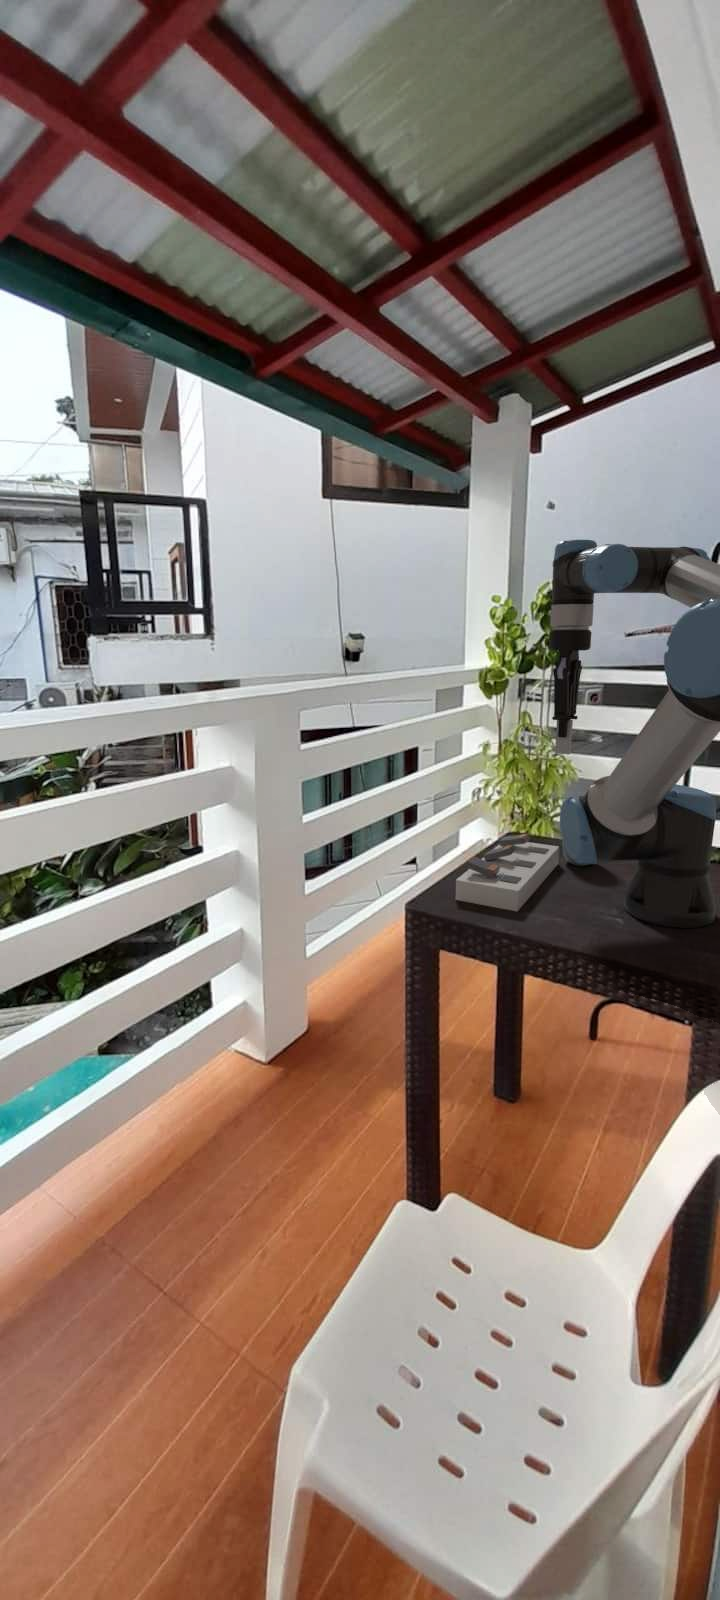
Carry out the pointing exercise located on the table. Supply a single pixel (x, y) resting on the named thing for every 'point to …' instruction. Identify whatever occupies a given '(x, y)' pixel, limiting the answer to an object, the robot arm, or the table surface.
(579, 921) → the table surface
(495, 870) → the rocker
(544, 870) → the power strip
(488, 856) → the rocker
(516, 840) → the rocker
